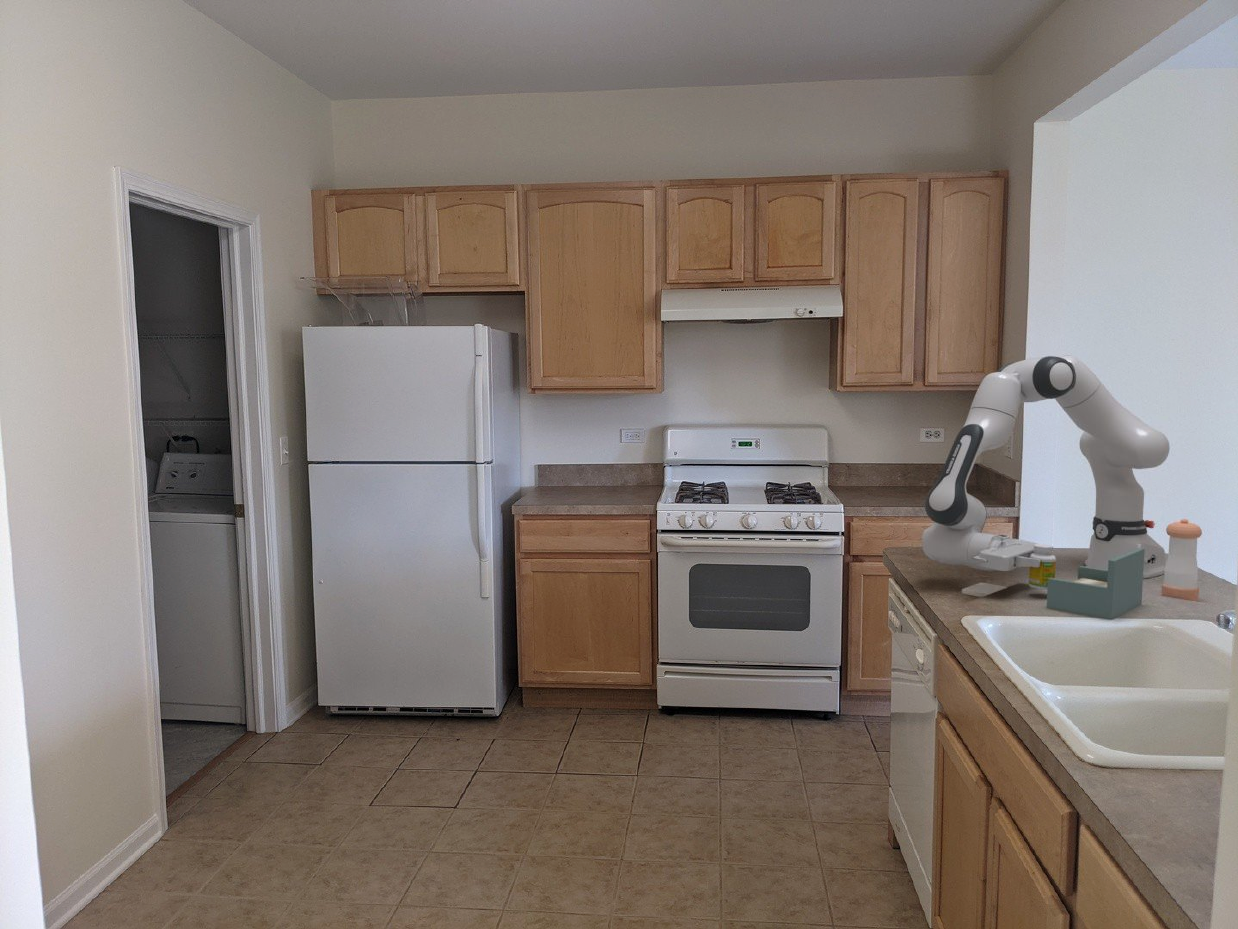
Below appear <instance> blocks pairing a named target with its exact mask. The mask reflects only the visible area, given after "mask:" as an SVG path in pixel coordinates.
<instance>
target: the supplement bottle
mask: <svg viewBox="0 0 1238 929" xmlns="http://www.w3.org/2000/svg"><path fill="white" fill-rule="evenodd" d="M1034 551H1035V553H1033V554H1032V555H1031V556H1030V558H1037V559H1041V560H1042V566H1040V567H1029V568H1028V569H1029V571H1028V572H1029V573H1028V586H1029V587H1031V588H1032V589H1033V588H1034V589H1039V590H1047V588H1048V578H1055V579H1056V568H1057V567H1056V564H1057V557H1056V556H1055V555H1053V553H1054V546H1053V545H1051V544H1046V543H1037V544H1035V545H1034Z"/></svg>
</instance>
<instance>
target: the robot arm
mask: <svg viewBox="0 0 1238 929" xmlns="http://www.w3.org/2000/svg"><path fill="white" fill-rule="evenodd" d="M1053 399H1055V400H1056V402H1057V403H1058V405H1059V406H1060V407H1061V408H1062V410H1063V411H1064V412H1065V413H1066V414H1067V416H1068V417H1069V418H1070V419H1071V421H1072V422H1073V423H1074V424H1075V425H1076V427H1077V428H1079V430H1082V431H1083V432H1082V433H1081V436H1080V438H1079V450H1080V452H1081V454H1082V455H1083V456H1084V457H1085V458H1086V460H1087V461H1088V463H1089V466H1090V468H1091V472H1092V475H1093V479H1094V484H1095V515H1094V517H1093V519H1092V530H1093V534H1092V535H1091V538H1090V540H1089V541H1090V542H1089V548H1088V553H1087V559H1085V560H1084V564H1085V567H1091V568H1097V569H1104V570H1108V560H1110V559H1113V558H1115V557H1118V556H1120V555H1123V554H1125V553H1128V552H1130V551H1133V550H1135V549H1138V548H1142V549H1145V553H1144V570H1143V579H1145V578H1146V579H1149V578H1153V577H1157V576H1163V575H1164V573H1165V566H1166V551H1165V548H1164V547H1163V546H1162V545H1161V544H1160V543H1158V542H1157V541H1156V540H1154V539H1153V538H1152V537H1151V536H1150V535H1149V534H1148V529H1147V528H1149V529H1154V527H1155V525H1156V524H1155V521H1154V520H1148V519H1145V520H1144V505H1145V504H1144V503H1145V490H1144V488H1143V487H1142V486H1141V484H1140V483H1139V482H1138V481H1137V479H1136V476H1135V473H1134V472H1133V469H1134V470H1143V469H1144V470H1145V469H1152V468H1157V467H1159V466H1161V465H1162V464H1164V462H1165V461H1166V460H1167V459H1168V457H1169V454H1170V447H1171V446H1170V441H1169V439H1168V438H1167V436H1166V435H1165V434H1164V433H1162V432H1161V431H1159V430H1157V429H1155V428H1153V427H1151V426H1149V425H1148V424H1146V423H1145V422H1144V421H1143V420H1141V419H1140V418H1138V417H1137V416H1136V415H1135V414H1133V413H1132V412H1131V411H1129V409H1127V408H1126V407H1124V406H1123V405H1122V404H1121V403H1120V402H1119V401H1117V399H1116V398H1115V397H1114V396H1113V394H1112V393H1111V392H1110V391H1109V390H1108V389H1107V387H1106V386H1105V385H1104V384H1103V383H1102V381H1101V380H1100V379H1099V378H1098V377H1097V375H1096V374H1095V373H1094V372H1093V371H1092V370H1091V368H1089V367H1088V366H1087V365H1086V364H1084V362H1082V361H1081V360H1080V359H1078V358H1077V357H1075V356H1073V355H1061V356H1053V355H1051V356H1050V355H1049V356H1044V357H1042V356H1041V357H1040V356H1039V357H1030V358H1026V359H1023V360H1020V361H1017V362H1010V363H1007V364H1005V365H1003V366H1002V367H1000V368H998V370H996V372H991V373H989V374H987V375H986V376H984V378H983V379H982V381H981V382H980V385H979V386H978V388H977V391H976V393H975V395H974V398H973V400H972V402H971V405H970V409H969V410H968V414H967V417H966V421H965V423H964V425H963V427H962V428H961V429H960V431H959V432H958V434H957V435H956V436H955V437H956V438H955V439H954V442H953V444H952V446H951V448H950V451H949V453H948V455H947V458H946V460H945V463H944V465H943V467H942V470H941V473H940V475H939V476H938V479H937V480H936V481H935V483H934V484H933V486H932V487H931V488H930V489H929V491H928V492H927V494H926V497H925V500H924V509H925V512H926V515H927V517H928V518H929V519H930V520H931V521H933V523H932V524H931V525H930V526H929V527H928V528H925V529H924V531H923V532H922V536H921V547H922V550H923V553H924V554H925V555H926V556H927V558H929V559H931V560H932V561H935V562H939V563H942V564H948V565H951V566H966V567H968V568H971V569H976V570H980V571H981V570H982V571H988V572H994V571H1001V572H1010V571H1012V570H1014V569H1019V568H1020V567H1021V568H1022V567H1024V568H1025V567H1026V568H1027V567H1028V568H1030V567H1040V566H1042V560H1041V559H1037V558H1030V556H1031V555H1032V554H1033V553H1035V551H1034V545H1035V544H1038V542H1031V541H1028V540H1023V539H1018V538H1011V536H1010V535H1007V534H993V533H991V534H990V533H985V532H983V530H984V527H985V525H986V521H987V519H988V518H987V516H988V513H987V508H986V506H985V505H984V502H982V501H981V500H979V499H978V498H976V497H975V496H974V495H972V494H969V493H968V492H967V482H968V481H969V477H970V475H971V472H972V471H973V468H974V465H975V463H976V460H977V458H978V457H979V455H980V454H981V453H983V452H985V451H991V450H992V451H993V450H995V449H999V448H1000V447H1002V446H1005V444H1006V443H1007V442H1008V440H1009V438H1011V435H1012V434H1013V430H1014V427H1015V424H1016V421H1017V417H1018V413H1019V409H1020V406H1021V404H1022V403H1037V402H1040V401H1045V400H1053Z"/></svg>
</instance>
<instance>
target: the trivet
mask: <svg viewBox="0 0 1238 929" xmlns="http://www.w3.org/2000/svg"><path fill="white" fill-rule="evenodd" d="M1007 588H1008V587H1007V586H1002V585H998V584H997V585H996V584H991V583H986V582H979V583H976V584H973V585H970V586H968V587H964V588H962V589H961V594H963V595H964V594H965V595H969V596H975V597H979V598H984V597H986V596H989V595H991V594H993V593H996V592H998V591H1002V590H1005V589H1007Z"/></svg>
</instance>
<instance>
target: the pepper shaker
mask: <svg viewBox="0 0 1238 929" xmlns="http://www.w3.org/2000/svg"><path fill="white" fill-rule="evenodd" d="M1165 531H1166V534H1167V535H1168V536H1169V541H1168V542H1169V543H1168V552H1167V554H1168V555H1167V559H1166V561H1165V564H1166V566H1165V573H1164V574H1163V575H1164V578H1163V583H1162V584H1161V597H1166V598H1172V599H1178V600H1184V601H1191V602H1195V603H1196V602H1197V603H1198V602H1199V594H1200V592H1199V591H1200V589H1199V587H1198V581H1199V580H1198V579H1199V568H1198V560H1197V554H1198V552H1197V550H1198V539H1199V538H1200V537H1202V534H1203V530H1202V528H1201V527H1200V525H1198V524H1195V523H1193V522H1189V520H1188V519H1185V518H1182V519H1181V520H1180V521H1175V522H1171V523H1169V524H1168V525H1167V526H1166V528H1165Z"/></svg>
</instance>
